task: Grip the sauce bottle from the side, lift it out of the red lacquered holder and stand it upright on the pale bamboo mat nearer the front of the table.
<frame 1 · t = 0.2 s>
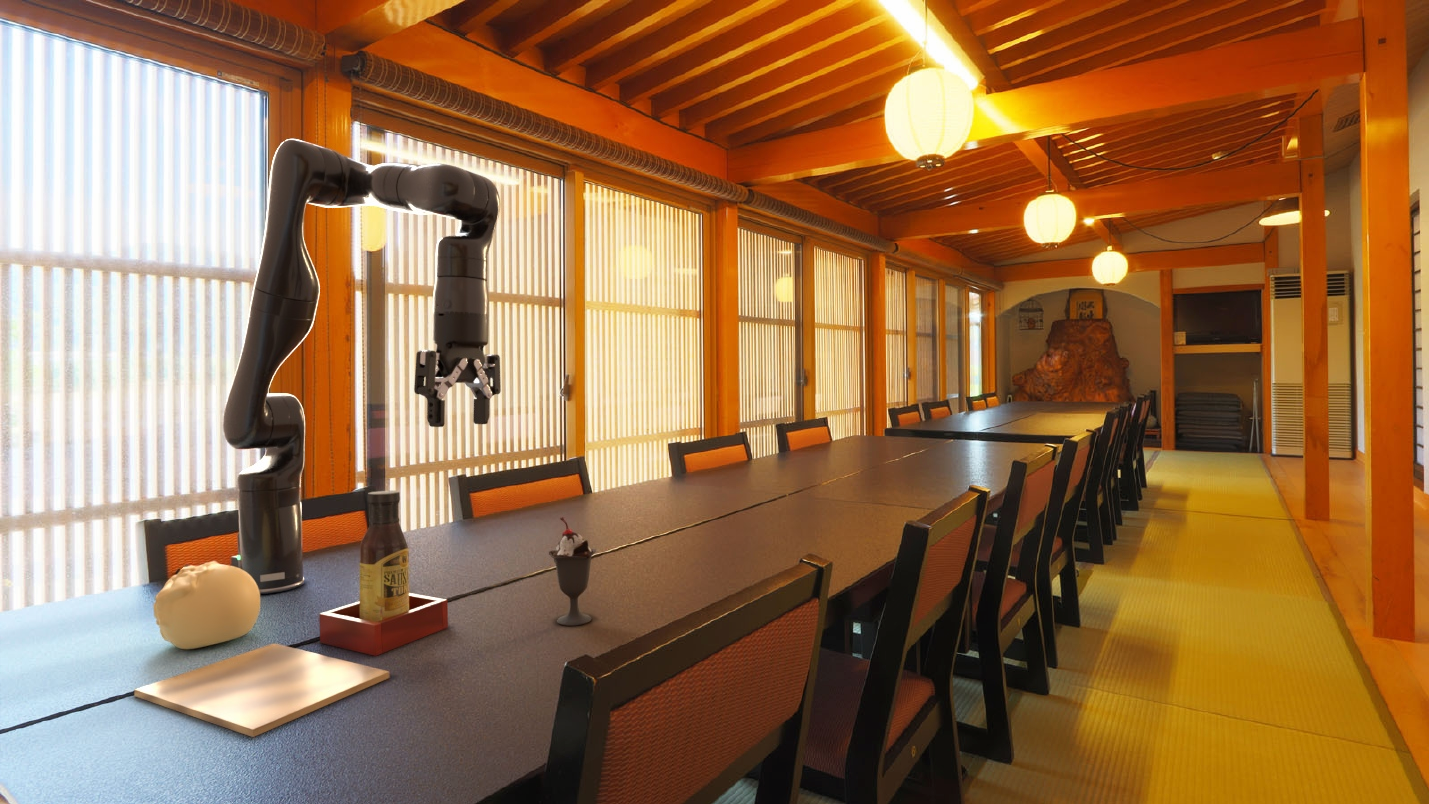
hand: (459, 425, 105), 29 cm above the table, tool pointing down, fingers open, 8 cm apart
tan rounded lump: (209, 642, 100), on the table
mat: (265, 687, 85), on the table
holder: (385, 635, 102), on the table
sauce bottle: (385, 636, 102), resting in holder
sundae: (573, 621, 107), on the table
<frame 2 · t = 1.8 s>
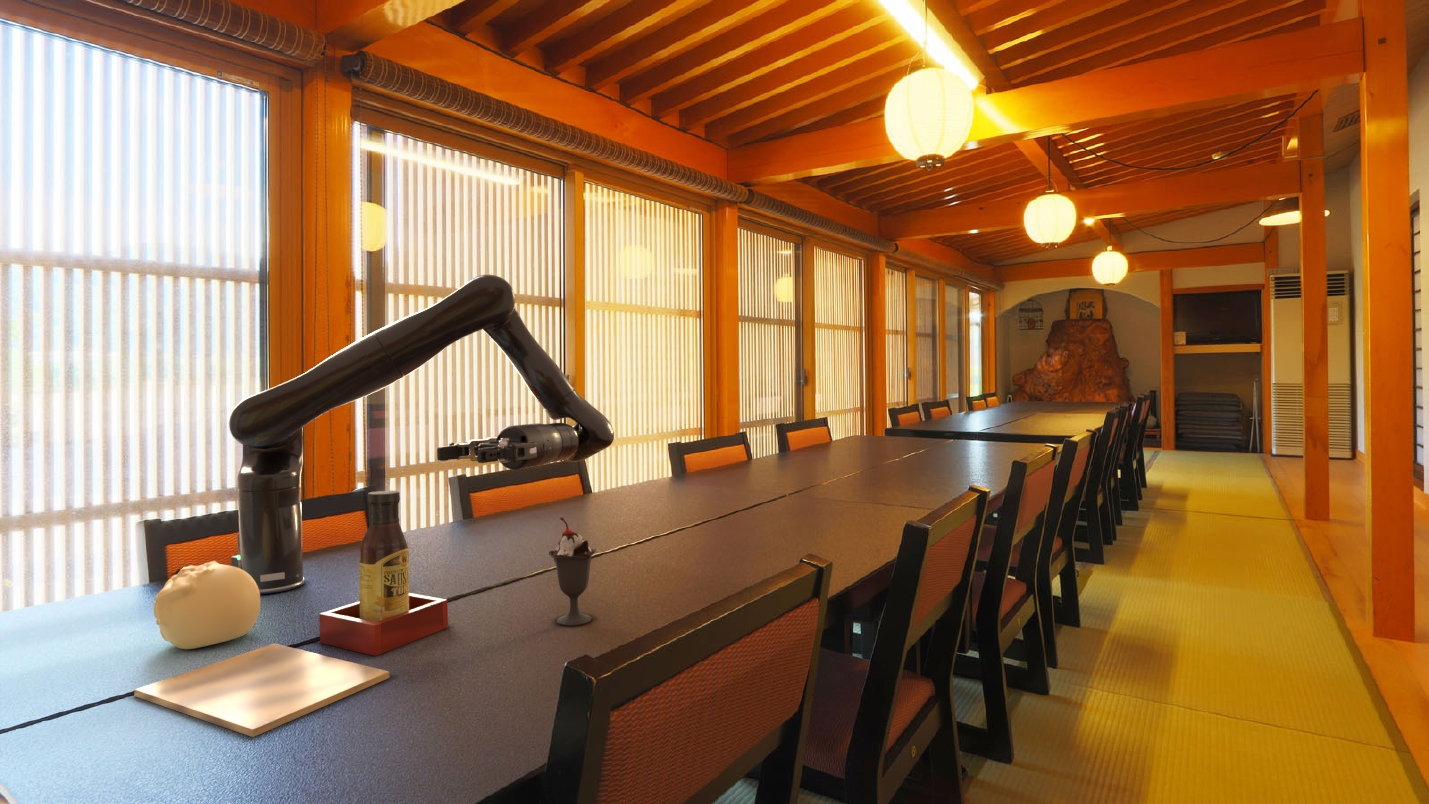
hand: (458, 455, 113), 24 cm above the table, tool horizontal, fingers open, 8 cm apart
nothing on the table moved.
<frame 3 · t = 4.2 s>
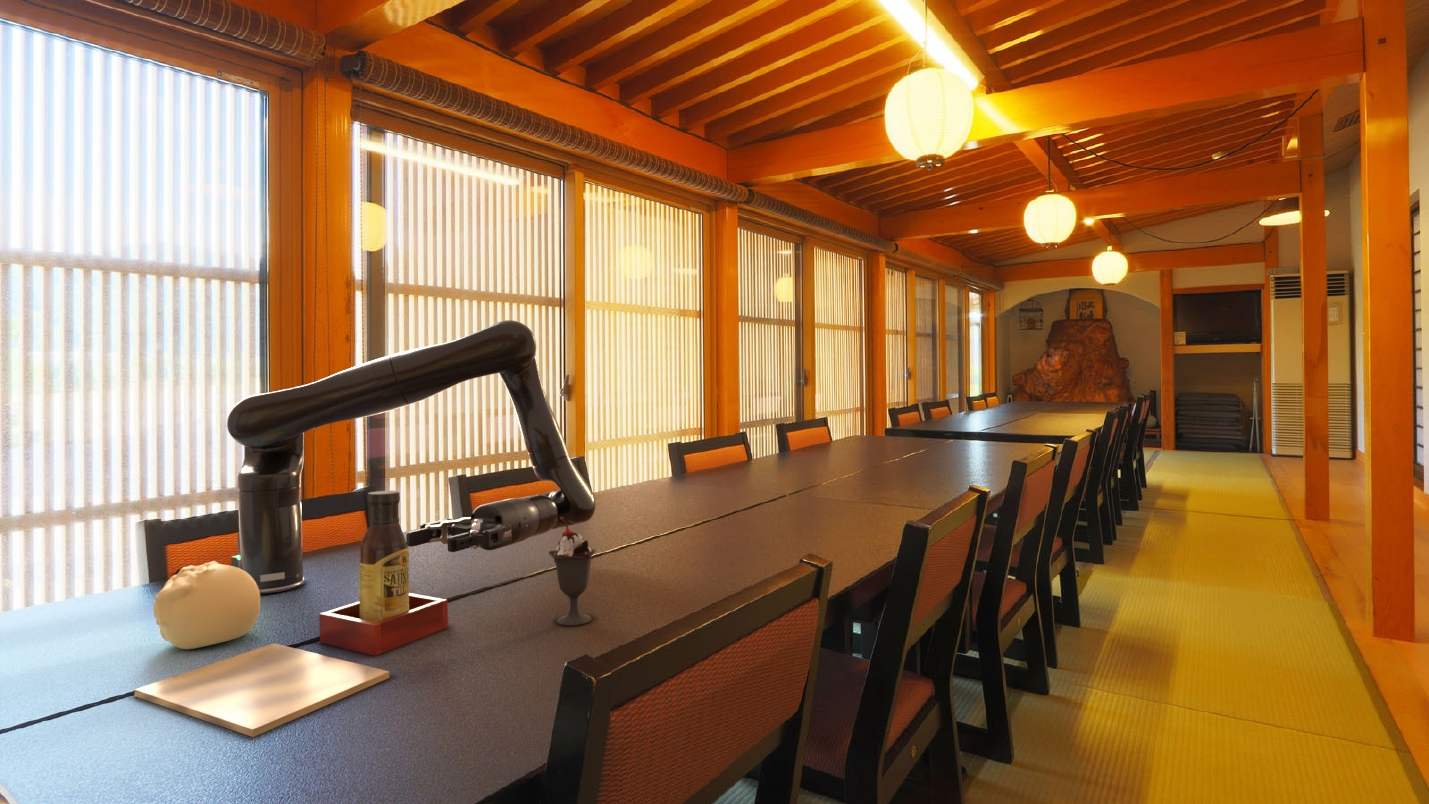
hand: (428, 542, 108), 11 cm above the table, tool horizontal, fingers open, 8 cm apart
nothing on the table moved.
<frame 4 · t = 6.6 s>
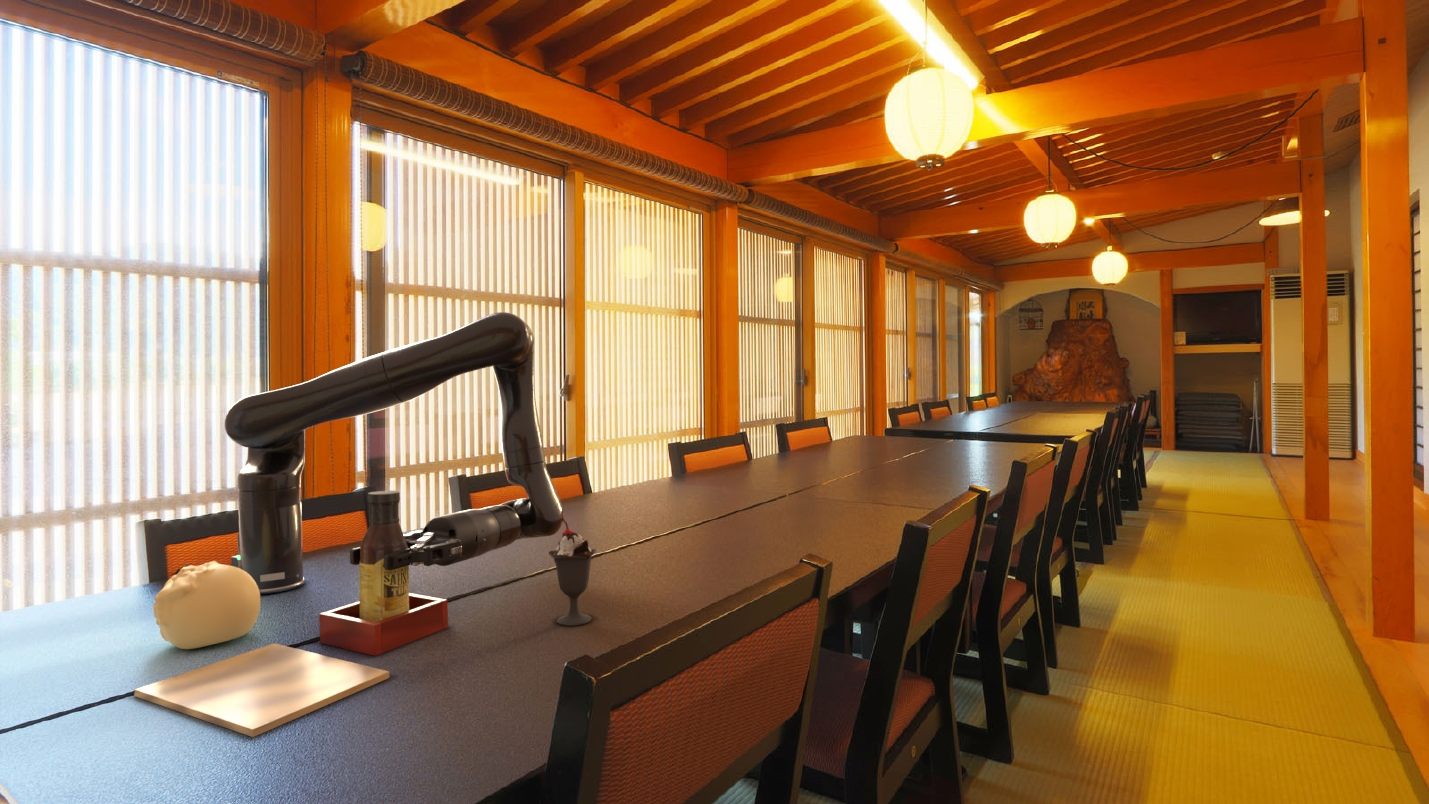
hand: (368, 560, 99), 11 cm above the table, tool horizontal, fingers closed on sauce bottle, 6 cm apart
sauce bottle: (385, 636, 102), resting in holder, touching gripper
everything else where it was.
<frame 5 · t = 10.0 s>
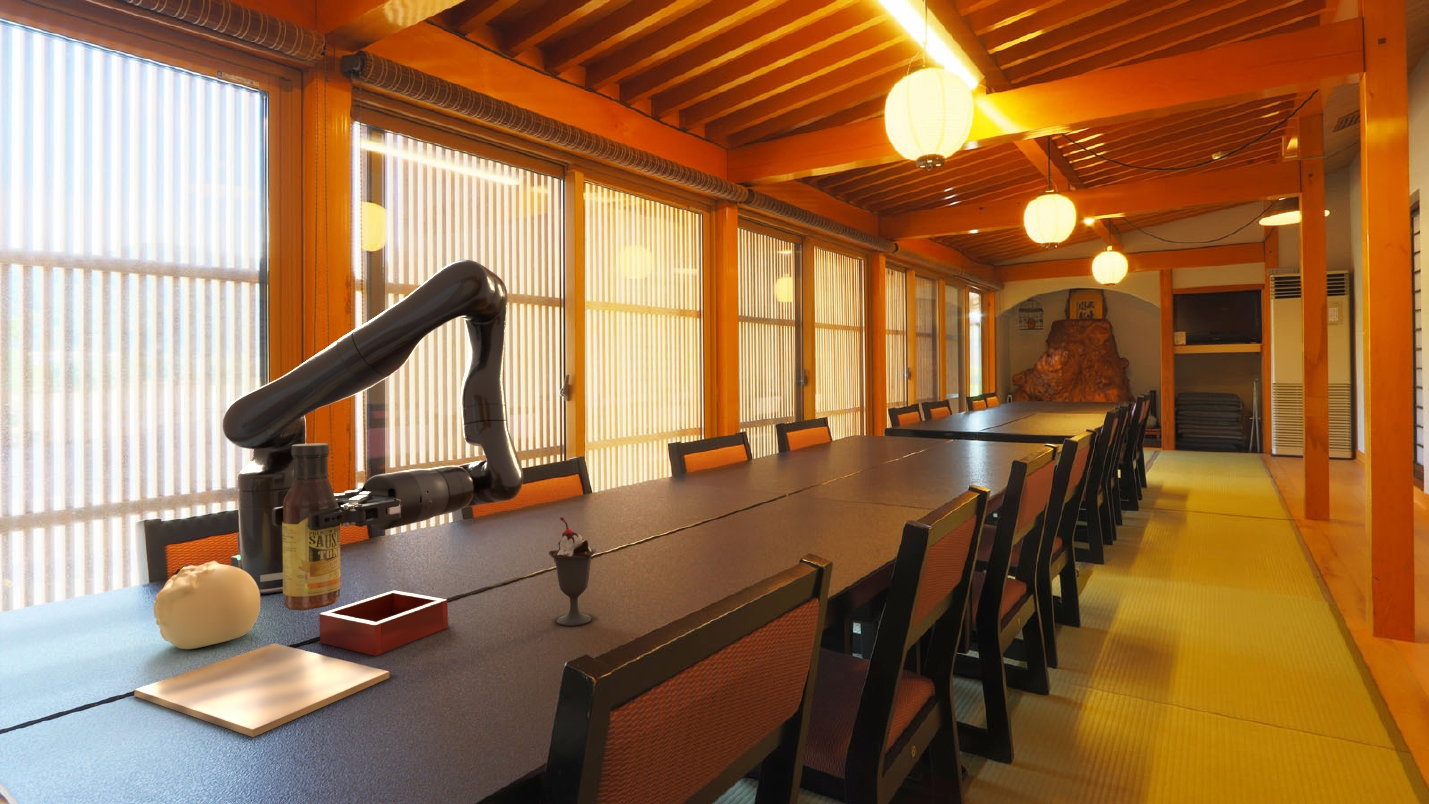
hand: (292, 519, 88), 19 cm above the table, tool horizontal, fingers closed on sauce bottle, 6 cm apart
sauce bottle: (313, 605, 91), point 7 cm above the table, touching gripper
everything else where it was.
when the fingers open (12 cm above the table, at t = 13.4 s): sauce bottle stays where it is, resting on mat.
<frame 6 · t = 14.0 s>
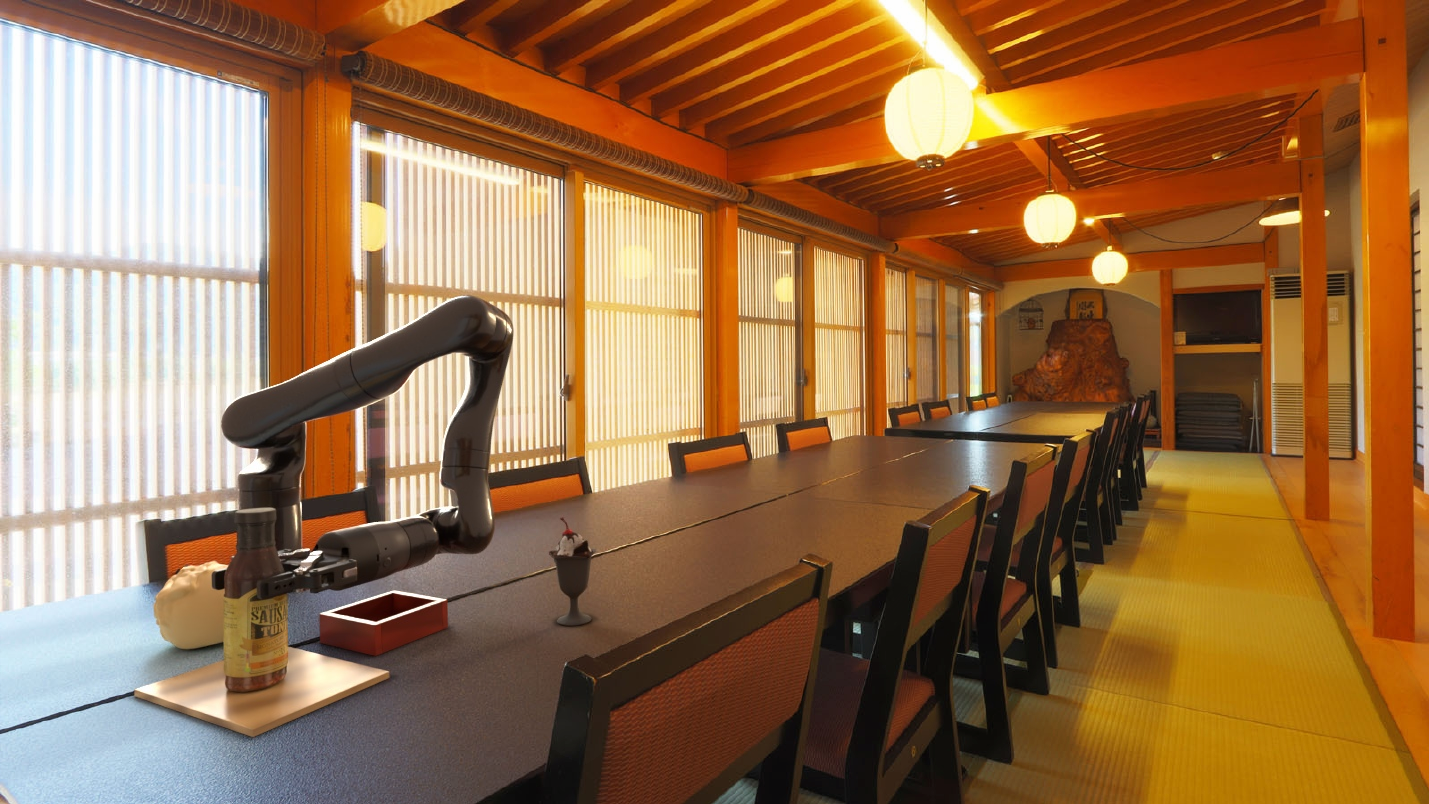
hand: (235, 585, 82), 13 cm above the table, tool horizontal, fingers open, 8 cm apart
sauce bottle: (258, 684, 84), point 1 cm above the table, touching mat
everything else where it was.
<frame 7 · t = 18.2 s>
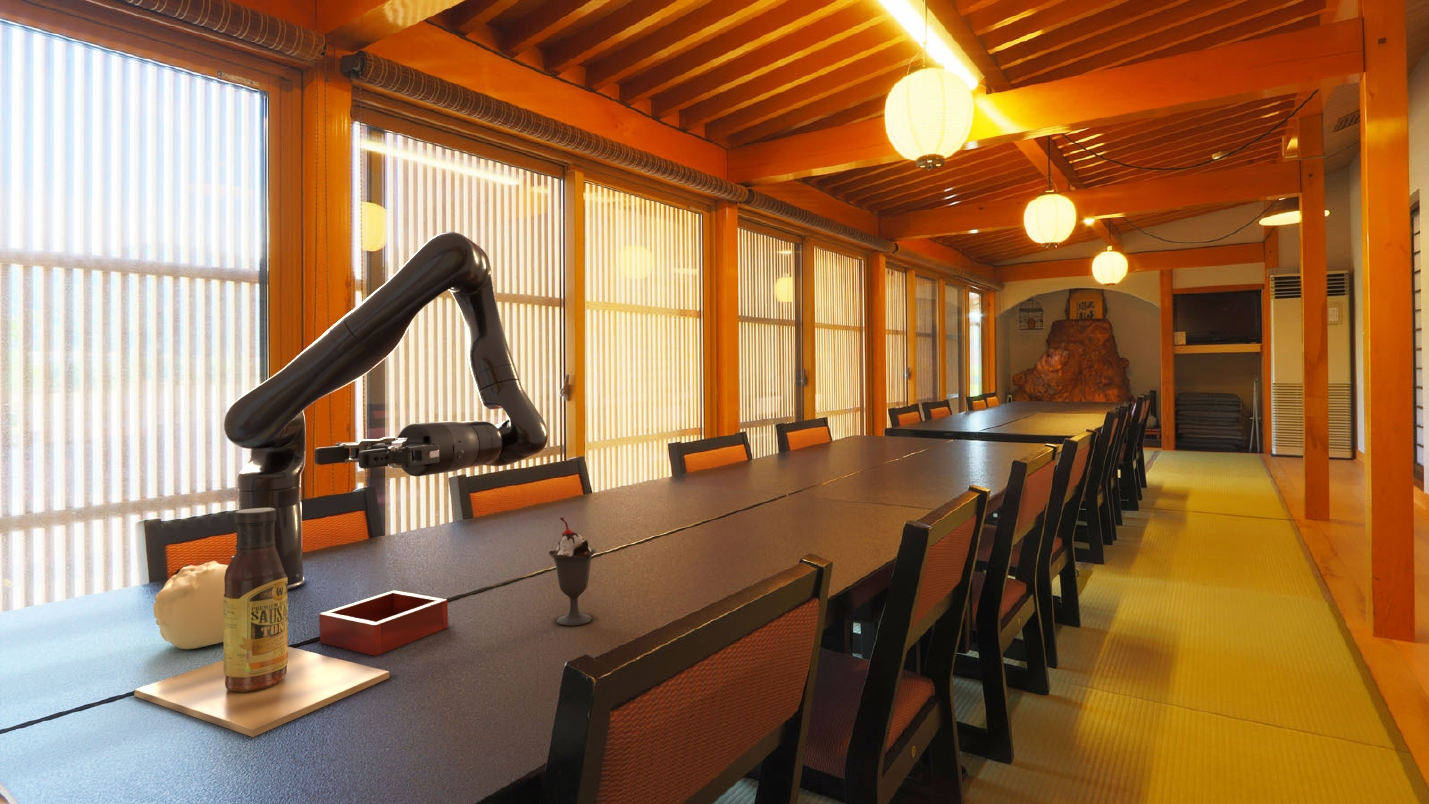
hand: (337, 458, 93), 25 cm above the table, tool horizontal, fingers open, 8 cm apart
nothing on the table moved.
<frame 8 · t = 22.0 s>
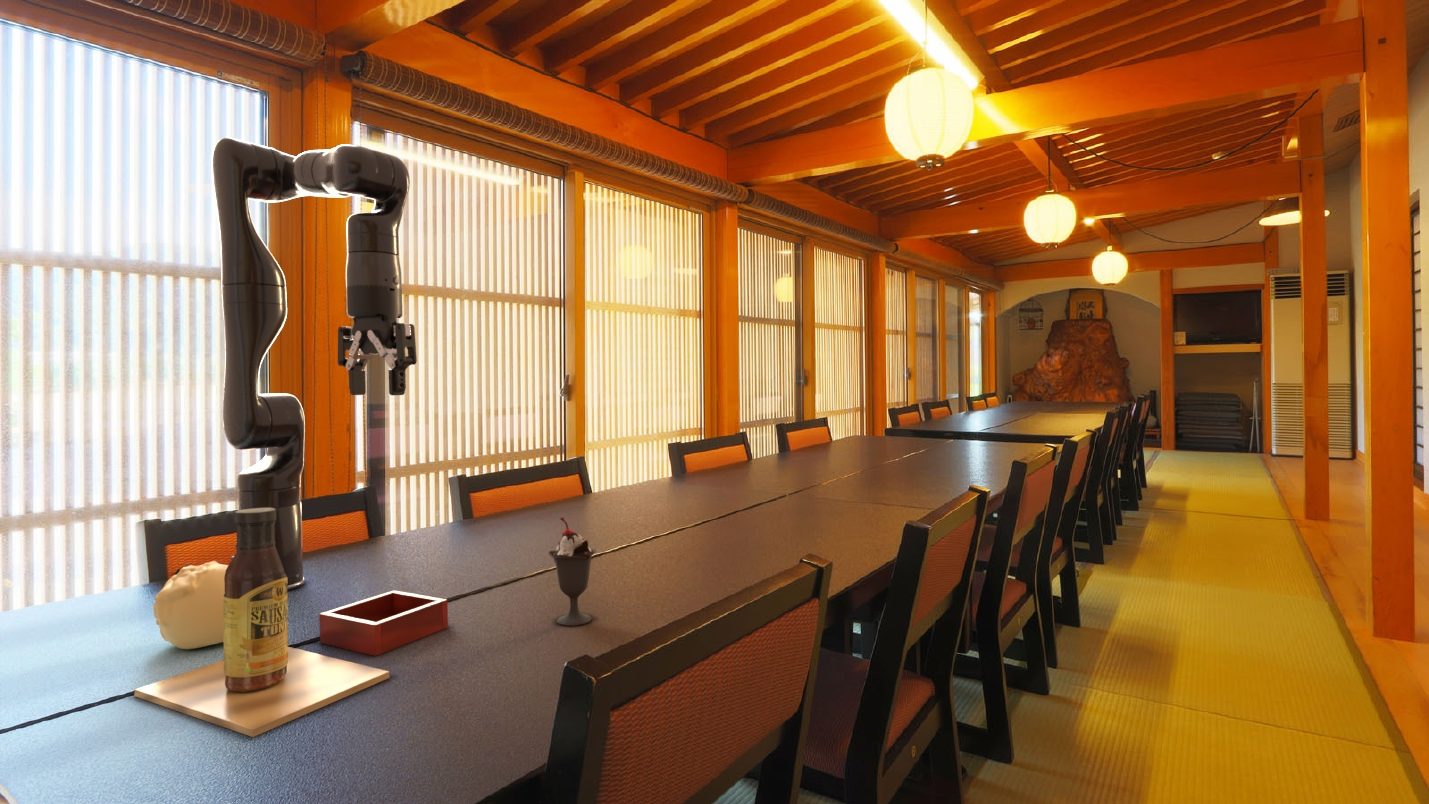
hand: (377, 395, 110), 33 cm above the table, tool pointing down, fingers open, 8 cm apart
nothing on the table moved.
at the end: sauce bottle inside the target area on the mat (0.9 cm from its centre), point 0.6 cm above the mat's base; sauce bottle tilted 0°; the gripper is holding nothing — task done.
